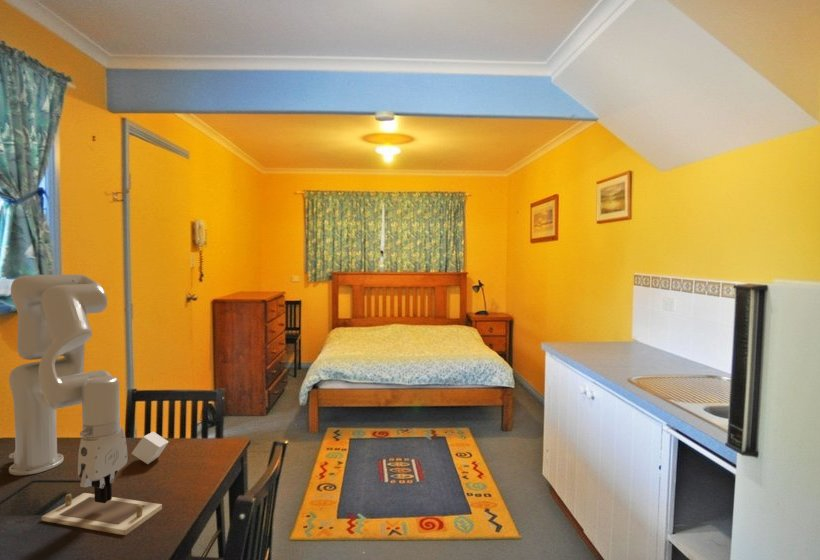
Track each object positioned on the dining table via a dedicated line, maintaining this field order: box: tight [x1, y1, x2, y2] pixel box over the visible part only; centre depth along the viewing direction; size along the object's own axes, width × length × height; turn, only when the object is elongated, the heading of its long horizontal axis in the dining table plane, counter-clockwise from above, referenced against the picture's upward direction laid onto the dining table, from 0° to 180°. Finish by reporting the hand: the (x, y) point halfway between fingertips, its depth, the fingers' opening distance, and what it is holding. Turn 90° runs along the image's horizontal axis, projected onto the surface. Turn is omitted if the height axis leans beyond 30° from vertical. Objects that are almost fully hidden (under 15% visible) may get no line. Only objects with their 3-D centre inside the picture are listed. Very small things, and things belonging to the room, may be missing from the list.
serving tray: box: [41, 492, 163, 536], centre depth 109 cm, size 24×11×4 cm, turn 78°
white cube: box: [131, 431, 169, 465], centre depth 137 cm, size 6×6×6 cm
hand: (103, 500), depth 109 cm, fingers closed
